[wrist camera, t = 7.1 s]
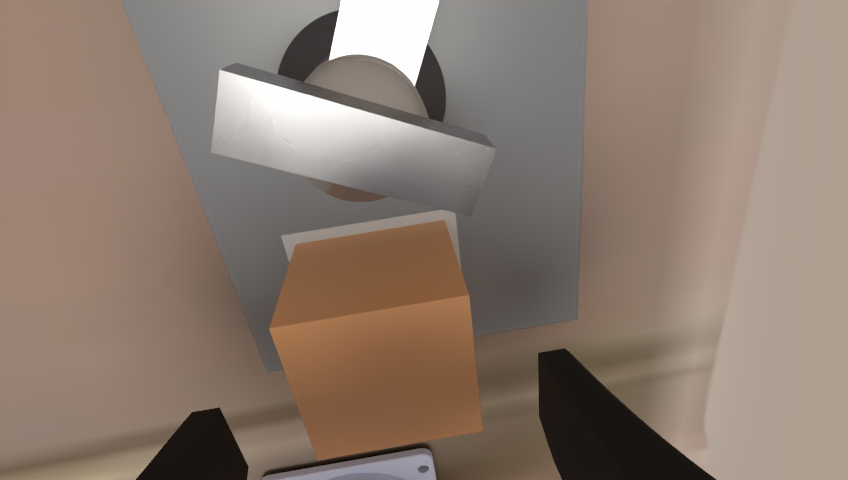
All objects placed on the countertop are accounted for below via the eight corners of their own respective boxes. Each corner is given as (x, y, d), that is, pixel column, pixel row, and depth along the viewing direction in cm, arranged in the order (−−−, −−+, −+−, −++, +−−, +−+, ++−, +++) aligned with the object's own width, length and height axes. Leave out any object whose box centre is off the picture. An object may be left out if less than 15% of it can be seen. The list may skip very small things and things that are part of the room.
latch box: (556, 290, 18) (578, 323, 16) (278, 337, 18) (267, 376, 16) (560, -176, 11) (596, -210, 10) (116, -113, 11) (65, -136, 9)
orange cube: (458, 335, 16) (482, 431, 12) (329, 357, 16) (317, 460, 12) (444, 219, 14) (469, 295, 10) (295, 244, 14) (268, 328, 10)
